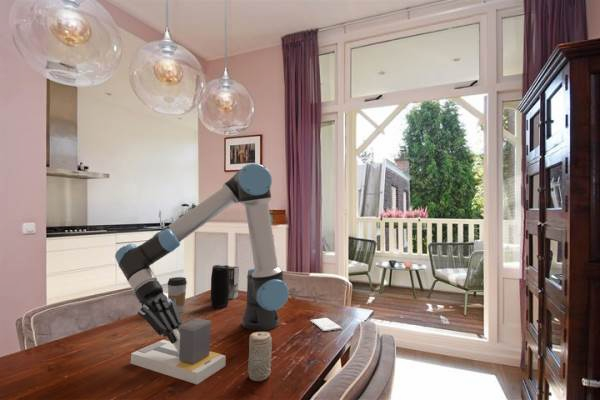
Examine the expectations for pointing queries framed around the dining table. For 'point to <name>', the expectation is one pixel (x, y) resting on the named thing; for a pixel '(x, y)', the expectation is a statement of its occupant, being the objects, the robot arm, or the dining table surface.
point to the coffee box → (233, 282)
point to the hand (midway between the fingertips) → (183, 350)
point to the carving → (259, 356)
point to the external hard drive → (325, 324)
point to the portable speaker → (220, 286)
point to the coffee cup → (177, 291)
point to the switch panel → (176, 362)
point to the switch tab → (194, 340)
